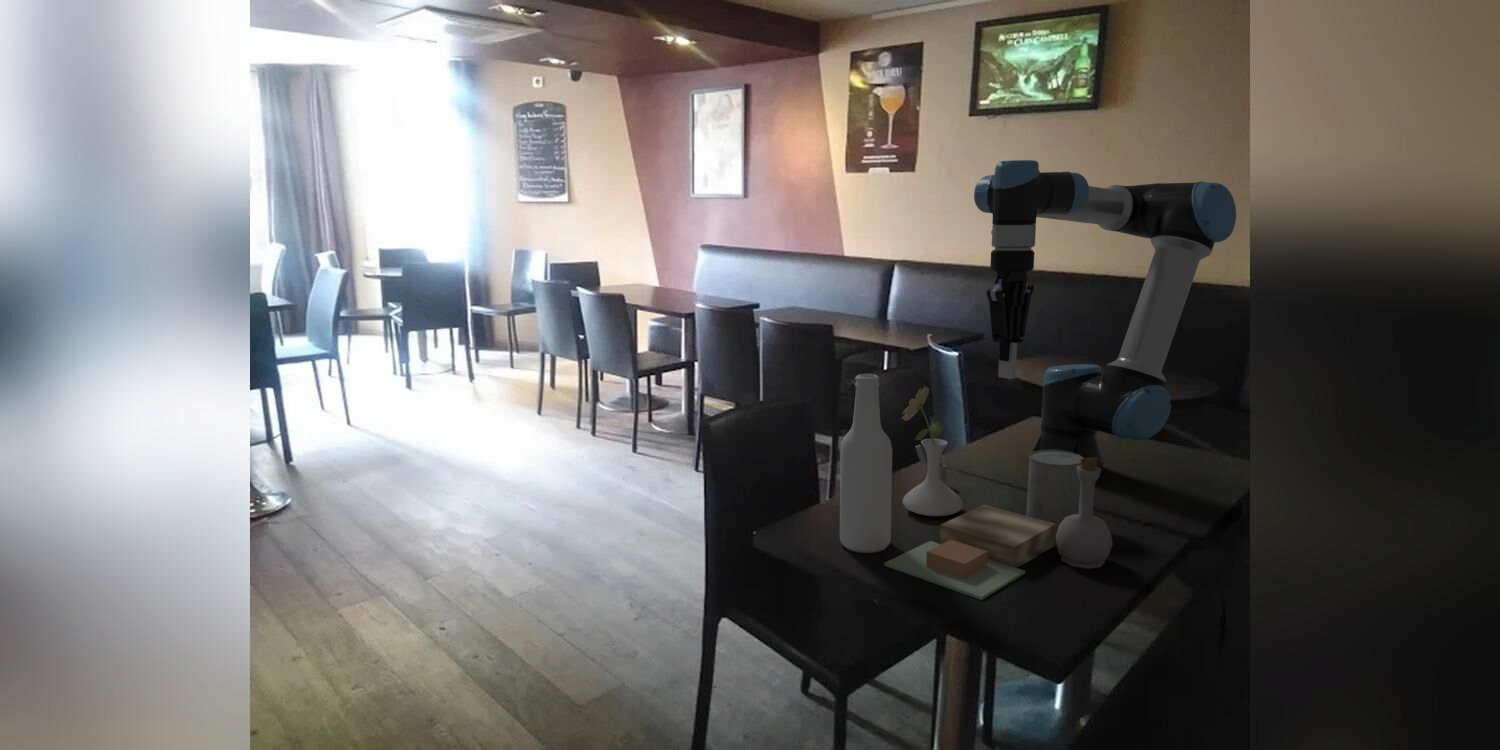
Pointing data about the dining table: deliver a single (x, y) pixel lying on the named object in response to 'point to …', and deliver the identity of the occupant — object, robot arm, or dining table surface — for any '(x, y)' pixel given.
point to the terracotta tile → (957, 559)
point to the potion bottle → (1084, 525)
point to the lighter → (923, 460)
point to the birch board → (1001, 534)
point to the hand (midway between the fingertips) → (1006, 377)
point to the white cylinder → (1053, 485)
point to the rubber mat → (972, 585)
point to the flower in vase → (930, 470)
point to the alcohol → (866, 474)
